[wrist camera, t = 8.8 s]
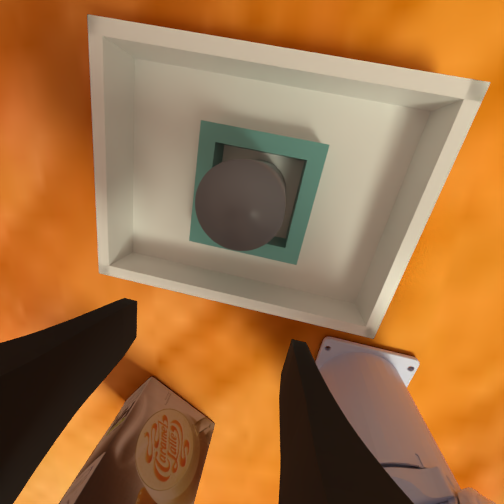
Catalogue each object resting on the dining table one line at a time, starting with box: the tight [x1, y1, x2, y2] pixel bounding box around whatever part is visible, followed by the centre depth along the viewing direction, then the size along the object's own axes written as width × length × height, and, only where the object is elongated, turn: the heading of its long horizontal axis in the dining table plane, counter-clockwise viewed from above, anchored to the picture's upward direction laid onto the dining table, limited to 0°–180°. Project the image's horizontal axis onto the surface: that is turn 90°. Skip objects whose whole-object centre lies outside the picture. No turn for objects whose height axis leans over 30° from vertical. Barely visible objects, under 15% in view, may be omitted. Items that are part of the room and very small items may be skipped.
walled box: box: [87, 14, 490, 339], centre depth 16 cm, size 15×20×4 cm
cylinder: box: [195, 159, 286, 251], centre depth 14 cm, size 4×4×7 cm
